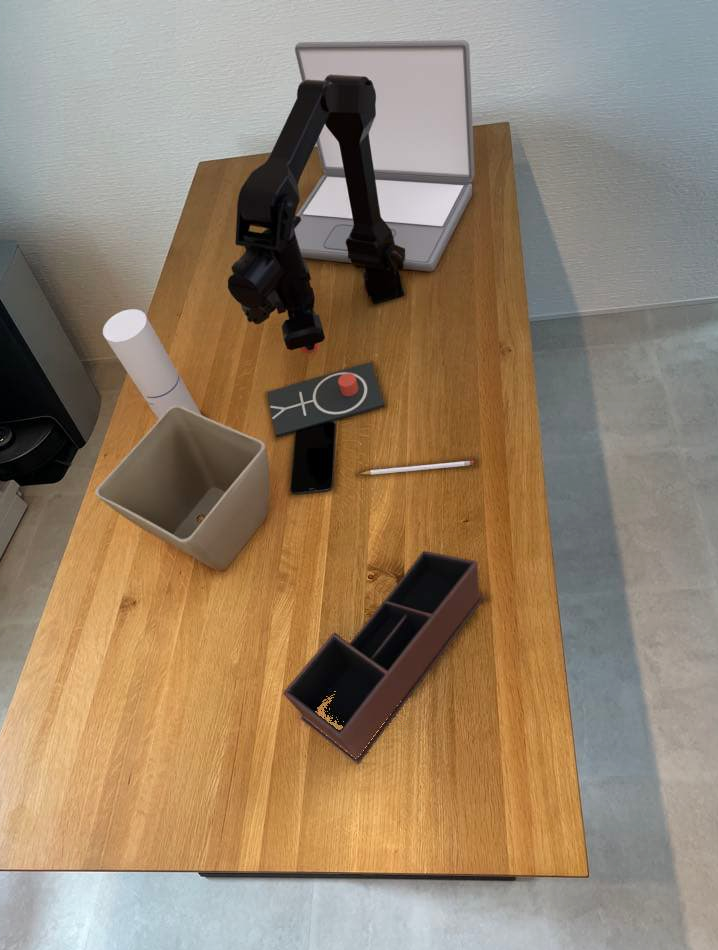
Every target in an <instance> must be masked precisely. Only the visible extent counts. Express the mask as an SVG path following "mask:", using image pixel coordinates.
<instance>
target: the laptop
mask: <svg viewBox="0 0 718 950" xmlns="http://www.w3.org/2000/svg"><path fill="white" fill-rule="evenodd" d="M294 53H295V56H296V57H295V58H296V62H297V65H298V69H299V74H300V78H301V82H303V81H305V80H322V81H324V80H325V78H326V77H327V76H328V75H330V74H331V75H348V76H364V77H367V78H368V79H369V80H371V81H372V83H373V86H374V89H375V92H376V104H375V107H376V116H375V119H374V121H373V124H372V126H371V129H370V131H369V140H370V147H371V154H372V161H373V168H374V174H375V181H376V188H377V195H378V202H379V208H380V215H381V218H382V219H383V220H384V222H385V223H386V224H387V225H388V227H389V228H390V229H391V231H392V234H393V238H394V243H395V245H397V246H400V247H402V248H405V261H404V262H403V264H404V268H403V269H402V270H409V271H410V270H411V271H419V272H428V273H430V272H433V271H434V270H436V268H437V266H438V265H439V262H440V260H441V258H442V256H443V254H444V252H445V250H446V248H447V246H448V244H449V242H450V240H451V238H452V236H453V234H454V232H455V230H456V228H457V227H458V223H460V220H461V218H462V217H463V214H464V212H465V210H466V208H467V206H468V204H469V202H470V200H471V198H472V196H473V185H472V182H473V181H474V178H475V176H476V175H475V152H474V149H475V148H474V129H473V126H474V125H473V124H474V123H473V108H472V107H473V102H472V101H473V100H472V78H471V77H472V76H471V52H470V43H469V41H467V40H465V39H448V40H447V39H446V40H445V39H441V40H440V39H439V40H438V39H437V40H375V41H374V40H371V41H369V40H367V41H364V40H363V41H360V40H359V41H299V42H298V43H296V45H295V47H294ZM316 147H317V151H318V157H319V160H320V164H321V168H322V171H323V173H324V174H323V175H322V176H321V178H320V179H319V180H318V182H317V183H316V185H315V186H314V188H313V190H311V192H310V193H309V195H308V197H307V198H306V200H305V202H304V203H303V204H302V206H301V207H300V209H299V210H298V212H296V213H297V214H295V216H300V217H301V221H300V223H299V224H298V225H297V226H296V228H295V229H294V230H295V234H296V237H297V241H298V244H299V248H300V251H301V255H302V257H303V259H311V260H321V261H331V262H336V263H337V262H338V263H347V264H353V263H352V262H351V260H350V259H349V258H348V249H347V246H346V239H347V238H348V237H349V235H350V233H351V231H352V228H353V226H354V223H353V217H352V212H351V206H350V201H349V195H348V190H347V184H346V179H345V173H344V168H343V163H342V157H341V152H340V146H339V142H338V141H337V140H336V138H335V137H334V136H333V134H332V133H331V132H330V131H329V129H328V128H327V127H326V125H324V127H323V129H322V131H321V133H320V136H319V138H318V140H317V142H316Z"/></svg>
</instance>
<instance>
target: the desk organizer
mask: <svg viewBox="0 0 718 950" xmlns="http://www.w3.org/2000/svg"><path fill="white" fill-rule="evenodd" d="M478 569H479V567H478V560H472V559H466V558H462V557H458V556H457V557H456V556H452V555H446V554H442V553H437V552H433V551H428V550H422V551H421V553H420V554H419V555H418V556H417V558H416V560H415V561H414V563H412V565H410V567H409V569H408V570H407V571H406V573H405V574H404V575H403V577H402V578H401V579H400V581H398V583H397V584H396V585H395V586H394V588H393V589H392V590H391V591H390V593H389V594H388V595H387V596H386V598H385V599H384V600H383V601H382V603H380V605H379V606H378V607H377V609H376V610H375V611H374V612H373V614H372V615H371V616H370V617H369V618H368V620H367V621H366V622H365V623H364V624H363V626H362V627H361V628H360V630H359V631H358V632H357V633H356V635H355V636H354V637H353V638H352V639H351V640H350V642H348V641H346V640H345V639H343V637H341V636H340V635H339V634H338V633H336V632H333V633H331V635H330V636H329V637H328V638H327V639H326V640H325V642H323V644H322V646H321V647H320V648H319V649H318V650H317V651H316V653H314V655H313V656H312V657H311V658H310V660H308V662H307V663H306V665H305V666H304V667H303V668H302V669H301V671H300V672H299V673H298V674H297V675H296V676H295V678H294V679H293V680H292V681H291V682H290V683H289V685H288V686H287V687H286V688H285V690H284V691H283V696H284V697H285V698H286V699H287V700H288V701H289V702H290V703H291V704H292V705H293V707H294V708H295V709H296V710H297V711H298V712H299V713H300V714H301V717H300V718H299V719H300V720H301V721H302V722H303V723H304V724H306V725H307V726H308V727H309V728H311V729H312V730H313V731H315V732H316V733H317V734H319V735H320V736H321V737H322V738H323V739H325V740H326V741H327V742H329V743H330V744H331V745H333V747H335V748H336V749H337V750H339V752H341V753H342V754H343V755H344V756H345V757H346V758H348V759H350V760H351V761H352V762H354V764H355V765H357V766H359V765H360V763H361V761H362V760H363V759H364V758H365V756H367V754H368V753H369V751H370V750H371V749H372V747H373V746H374V744H375V743H376V742H377V741H378V740H379V738H380V737H381V735H382V734H383V733H384V731H385V730H386V729H387V728H388V726H389V725H390V723H391V722H392V721H393V719H394V718H395V717H396V715H397V714H398V713H399V712H400V710H401V709H402V708H403V706H404V705H405V704H406V703H407V701H408V700H409V699H410V697H411V696H412V695H413V694H414V692H415V690H416V689H417V688H418V687H419V685H420V684H421V682H422V681H423V680H424V678H426V676H427V675H428V673H429V672H430V671H431V669H432V668H433V667H434V666H435V664H436V663H437V662H438V660H439V659H440V657H441V656H442V655H443V653H444V652H445V651H446V649H447V648H448V647H449V646H450V644H452V642H453V640H454V639H455V638H456V636H457V635H458V633H459V632H461V630H462V629H463V627H464V626H465V624H466V623H467V622H468V621H469V619H470V618H471V617H472V615H473V614H474V612H475V611H476V610H477V609H478V608H479V606H480V605H481V603H482V602H483V601H484V600H485V599H486V597H485V596H484V595H482V594H480V583H479V570H478ZM334 691H336V692H334ZM333 694H335V695H333ZM331 695H333V696H331ZM326 696H328V697H330V696H331V697H334V698H332V699H331V700H332V701H331V702H330V704H329V703H328V704H327V705H328V706H326V707H327V709H326V708H324V710H325V711H326V712H325V711H324V712H325V714H326V717H327V715H329V717H330V716H331V717H333V719H330V720H332V721H331V722H334V721H335V720H336V721H337V724H338V725H342V726H343V728H342V729H341V730H338V729H336V728H335V727H334V726H333V725H331V724H330V723H328V722H327V721H326V720H325V719H323V718H322V717H321V716H319V715H318V714H317V713H316V712H315V711H317V710H318V709H317V707H319V706H320V705H321V704H322V703H323V702H322V701H323V700H324V699H327V698H328V697H326ZM331 697H330V698H331ZM327 700H328V699H327ZM327 700H326V701H327ZM326 701H324V702H326ZM328 701H329V700H328ZM400 701H401V702H400ZM397 705H398V706H397ZM323 707H324V706H323ZM329 708H330V710H329ZM321 711H322V710H321ZM327 711H328V712H327ZM317 712H318V711H317ZM329 713H330V714H329ZM390 714H391V715H390ZM332 715H333V716H332ZM331 717H330V718H331ZM336 717H337V718H336ZM324 718H325V717H324ZM387 718H388V719H387ZM337 719H338V720H337ZM386 719H387V720H386ZM338 721H339V722H338ZM343 721H344V722H343ZM329 722H330V721H329ZM384 722H385V723H384ZM334 723H335V722H334ZM383 723H384V724H383ZM382 724H383V725H382ZM381 726H382V727H381ZM316 727H317V728H316ZM380 727H381V728H380ZM378 730H379V731H378ZM321 731H322V732H321ZM377 731H378V732H377ZM376 732H377V733H376ZM375 734H376V735H375ZM326 735H327V736H326ZM374 735H375V736H374ZM373 736H374V737H373ZM372 738H373V739H372ZM371 739H372V740H371ZM335 742H336V743H335ZM369 742H370V743H369ZM368 743H369V744H368ZM340 746H341V747H340ZM366 746H367V747H366ZM365 747H366V748H365ZM345 750H346V751H347V752H346V751H345ZM363 750H364V751H363ZM360 754H361V755H360ZM351 755H352V756H351ZM358 756H359V757H358ZM355 758H356V759H355Z"/></svg>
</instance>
